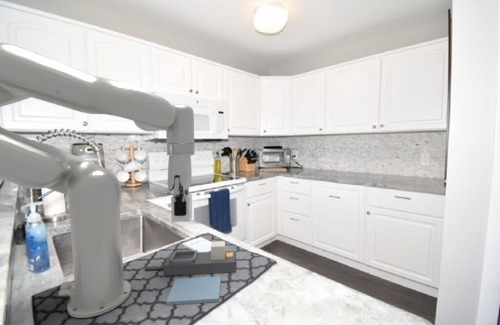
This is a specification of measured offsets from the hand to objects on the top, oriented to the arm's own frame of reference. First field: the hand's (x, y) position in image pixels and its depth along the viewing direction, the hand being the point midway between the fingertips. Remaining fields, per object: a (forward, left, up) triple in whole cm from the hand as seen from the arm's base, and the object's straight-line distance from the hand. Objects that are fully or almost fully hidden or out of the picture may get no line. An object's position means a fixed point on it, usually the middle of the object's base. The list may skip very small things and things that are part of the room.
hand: (182, 212), depth 66 cm
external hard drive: (+3, +14, -18) cm, 23 cm away
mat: (+5, -11, -17) cm, 21 cm away
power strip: (+2, 0, -17) cm, 17 cm away
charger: (0, 0, -2) cm, 2 cm away
